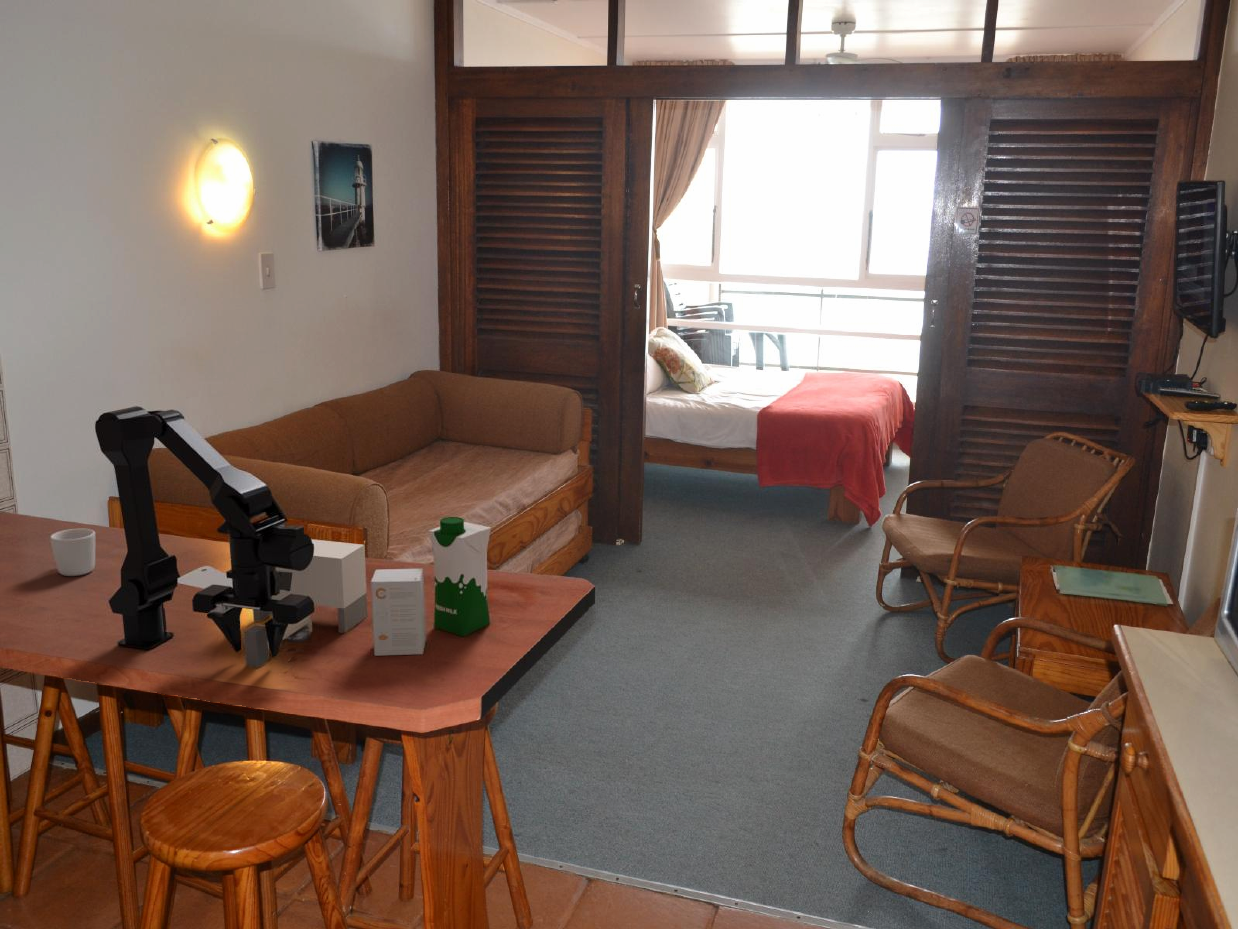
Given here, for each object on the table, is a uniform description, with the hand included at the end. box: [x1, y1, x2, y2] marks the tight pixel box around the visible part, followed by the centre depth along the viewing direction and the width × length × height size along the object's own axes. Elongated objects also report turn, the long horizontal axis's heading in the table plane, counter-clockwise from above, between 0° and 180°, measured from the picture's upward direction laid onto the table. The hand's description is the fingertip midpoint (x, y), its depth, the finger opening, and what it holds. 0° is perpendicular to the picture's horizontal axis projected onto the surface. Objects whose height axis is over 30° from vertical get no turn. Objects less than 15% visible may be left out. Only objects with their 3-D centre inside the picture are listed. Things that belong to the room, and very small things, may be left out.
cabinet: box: [252, 538, 369, 634], centre depth 188 cm, size 8×18×14 cm, turn 75°
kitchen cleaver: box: [178, 565, 233, 589], centre depth 203 cm, size 31×2×10 cm
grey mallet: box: [243, 615, 313, 669], centre depth 176 cm, size 16×2×6 cm, turn 165°
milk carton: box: [428, 516, 492, 637], centre depth 185 cm, size 9×9×20 cm
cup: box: [49, 528, 96, 577], centre depth 212 cm, size 11×8×8 cm
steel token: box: [283, 626, 311, 644], centre depth 181 cm, size 4×4×2 cm
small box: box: [370, 568, 427, 657], centre depth 176 cm, size 8×6×13 cm
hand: (256, 653), depth 170 cm, fingers open, 6 cm apart
